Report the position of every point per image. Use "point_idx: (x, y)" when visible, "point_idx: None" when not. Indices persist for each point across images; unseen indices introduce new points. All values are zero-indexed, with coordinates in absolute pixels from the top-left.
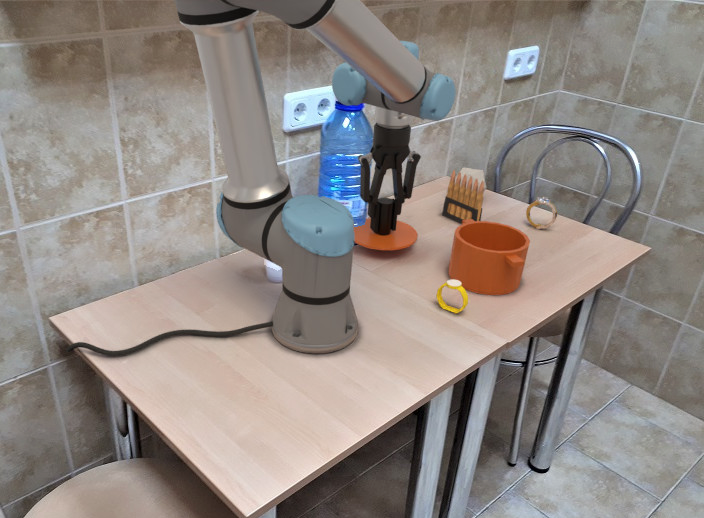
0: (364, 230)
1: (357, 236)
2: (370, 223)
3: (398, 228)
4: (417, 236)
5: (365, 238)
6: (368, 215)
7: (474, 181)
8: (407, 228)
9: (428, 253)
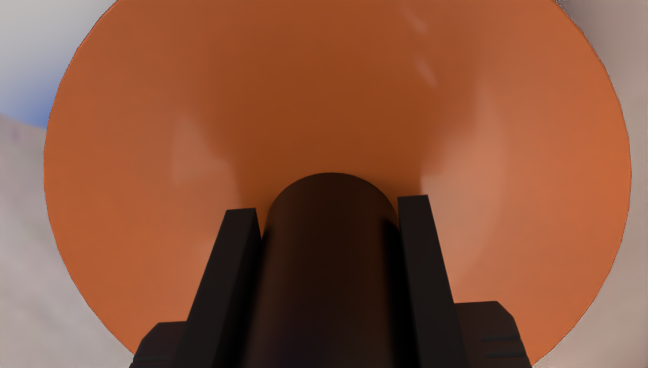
0: (186, 184)
1: (118, 268)
2: (218, 232)
3: (493, 188)
4: (577, 321)
5: (174, 304)
6: (158, 331)
7: None
8: (572, 196)
9: (607, 281)
